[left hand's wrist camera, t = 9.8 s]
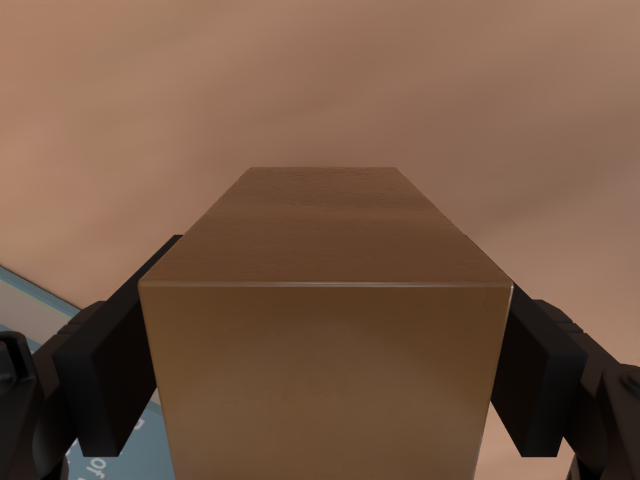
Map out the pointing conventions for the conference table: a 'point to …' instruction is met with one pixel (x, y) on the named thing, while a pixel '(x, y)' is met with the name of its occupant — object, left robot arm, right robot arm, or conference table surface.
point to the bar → (324, 332)
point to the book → (84, 472)
